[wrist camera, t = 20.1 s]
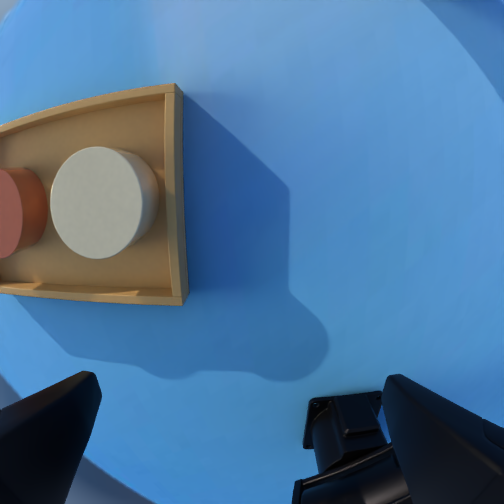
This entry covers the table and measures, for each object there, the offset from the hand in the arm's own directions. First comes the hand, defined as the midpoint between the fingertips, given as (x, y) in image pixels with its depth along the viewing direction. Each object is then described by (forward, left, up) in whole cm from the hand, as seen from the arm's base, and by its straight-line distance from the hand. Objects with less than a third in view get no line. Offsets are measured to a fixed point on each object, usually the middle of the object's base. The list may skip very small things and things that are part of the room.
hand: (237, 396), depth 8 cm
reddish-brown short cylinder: (+5, +17, -11) cm, 21 cm away
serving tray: (+5, +13, -12) cm, 18 cm away
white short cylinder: (+5, +8, -11) cm, 15 cm away
